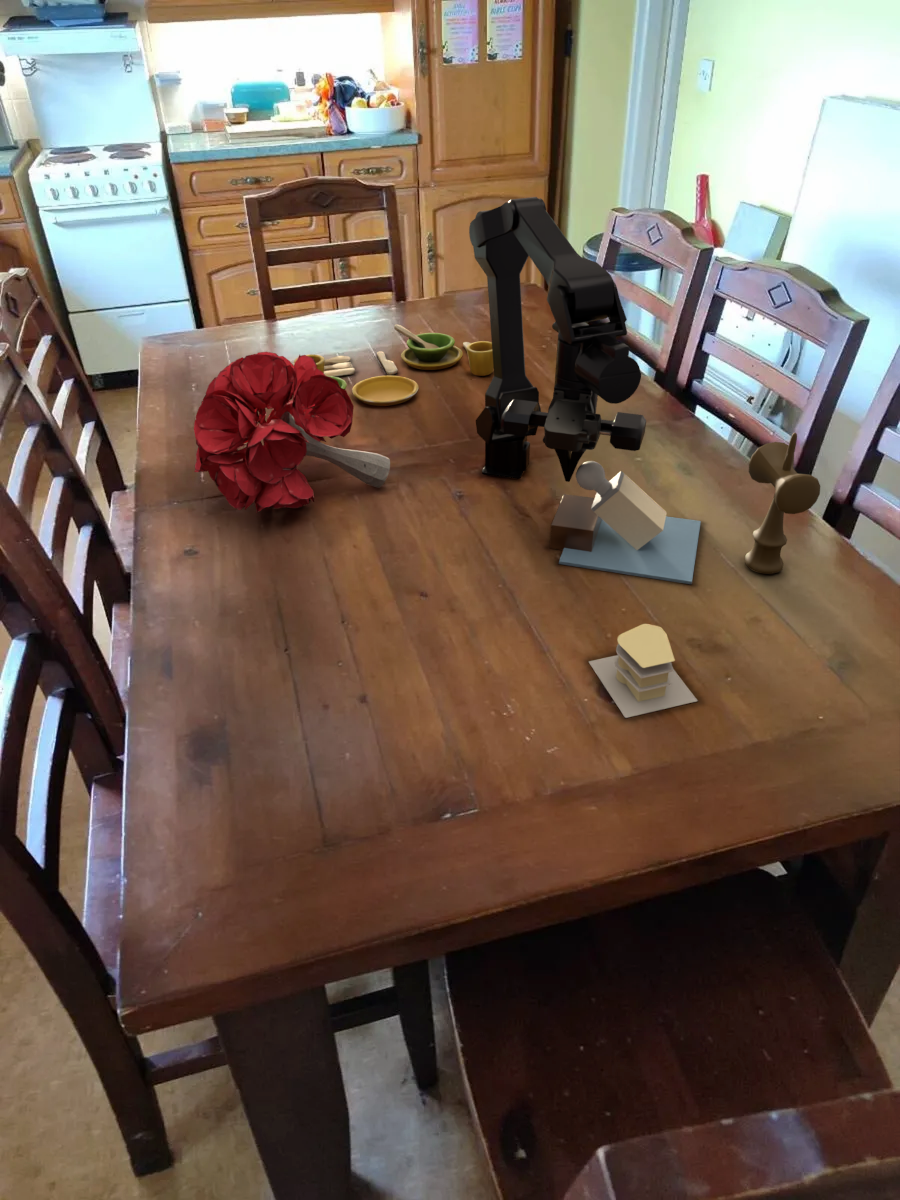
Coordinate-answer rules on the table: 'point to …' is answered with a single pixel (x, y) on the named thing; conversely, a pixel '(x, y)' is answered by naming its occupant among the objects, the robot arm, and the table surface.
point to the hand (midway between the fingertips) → (568, 480)
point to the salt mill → (622, 504)
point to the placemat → (643, 553)
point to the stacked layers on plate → (642, 673)
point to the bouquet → (275, 431)
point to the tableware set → (421, 354)
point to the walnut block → (574, 524)
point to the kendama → (778, 501)
